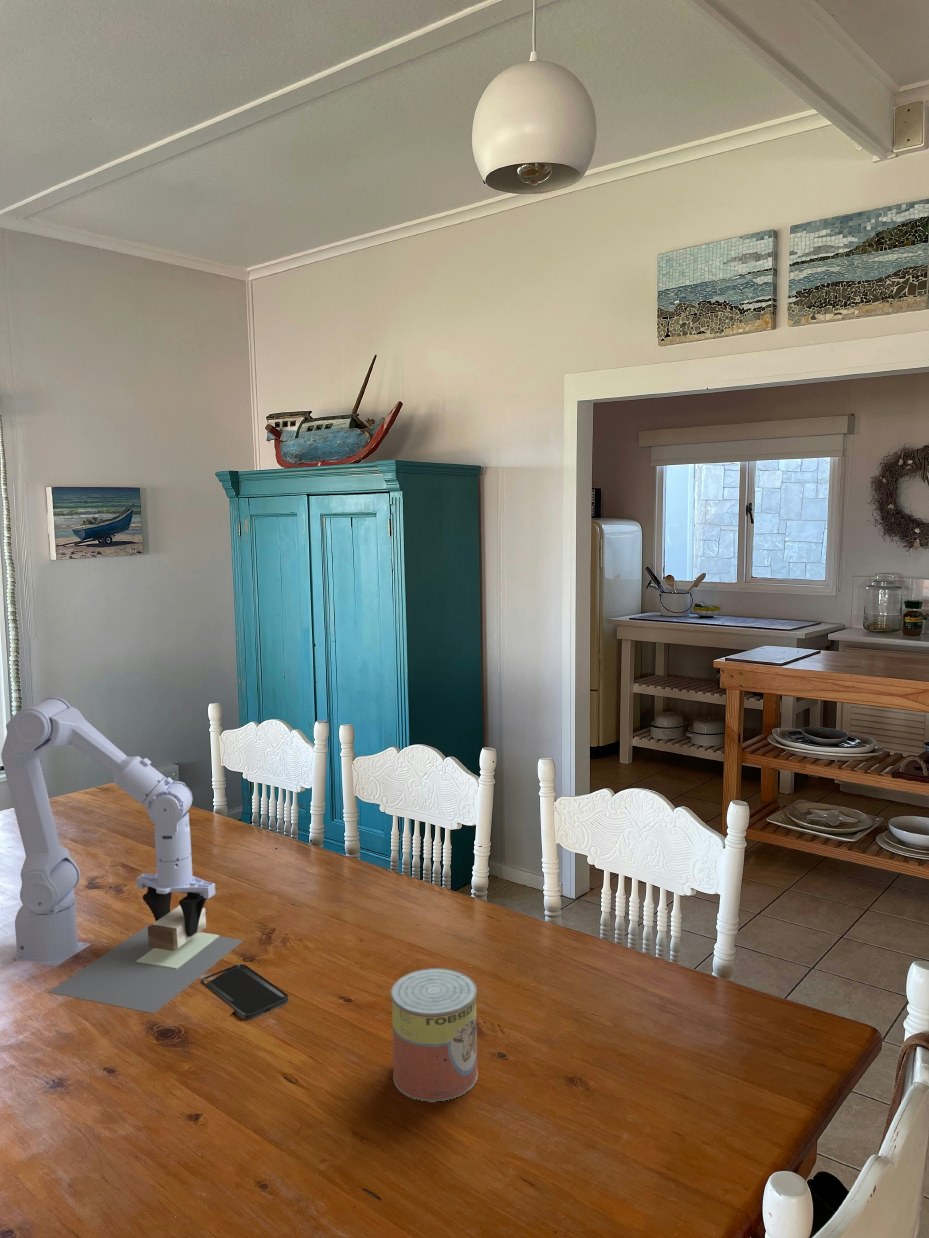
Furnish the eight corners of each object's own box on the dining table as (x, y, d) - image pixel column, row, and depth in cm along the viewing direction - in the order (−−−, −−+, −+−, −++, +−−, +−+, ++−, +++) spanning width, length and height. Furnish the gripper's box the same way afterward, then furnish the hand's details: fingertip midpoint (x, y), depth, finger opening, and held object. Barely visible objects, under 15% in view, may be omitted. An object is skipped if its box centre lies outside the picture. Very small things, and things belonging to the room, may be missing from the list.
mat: (48, 995, 139) (48, 991, 139) (149, 927, 162) (148, 924, 162) (154, 1017, 133) (154, 1013, 133) (243, 943, 156) (243, 940, 155)
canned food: (447, 1113, 111) (446, 1023, 109) (376, 1083, 117) (373, 997, 115) (493, 1065, 120) (492, 981, 119) (424, 1040, 126) (423, 960, 125)
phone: (242, 962, 148) (291, 996, 137) (242, 968, 148) (291, 1003, 137) (197, 979, 142) (245, 1017, 131) (198, 986, 142) (245, 1024, 131)
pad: (176, 969, 146) (176, 968, 146) (136, 961, 148) (136, 960, 148) (219, 936, 157) (219, 935, 157) (181, 929, 160) (181, 928, 160)
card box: (182, 923, 157) (181, 904, 157) (206, 927, 156) (205, 908, 155) (148, 946, 149) (147, 926, 149) (173, 951, 147) (172, 931, 147)
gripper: (122, 859, 149) (127, 936, 151) (195, 869, 145) (200, 948, 146) (150, 844, 156) (154, 918, 158) (220, 853, 151) (224, 929, 153)
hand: (178, 931), depth 152 cm, fingers closed on card box, 5 cm apart
